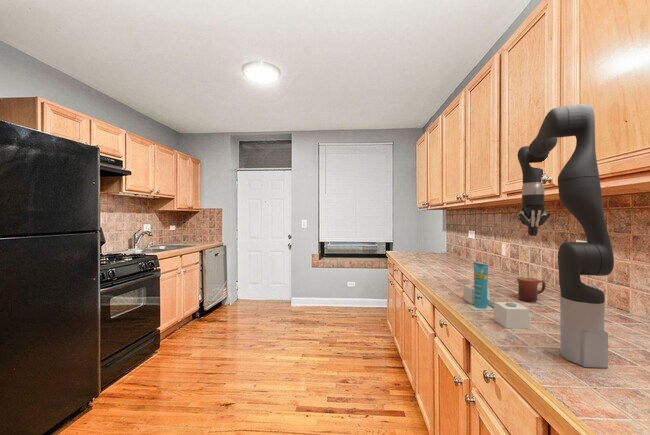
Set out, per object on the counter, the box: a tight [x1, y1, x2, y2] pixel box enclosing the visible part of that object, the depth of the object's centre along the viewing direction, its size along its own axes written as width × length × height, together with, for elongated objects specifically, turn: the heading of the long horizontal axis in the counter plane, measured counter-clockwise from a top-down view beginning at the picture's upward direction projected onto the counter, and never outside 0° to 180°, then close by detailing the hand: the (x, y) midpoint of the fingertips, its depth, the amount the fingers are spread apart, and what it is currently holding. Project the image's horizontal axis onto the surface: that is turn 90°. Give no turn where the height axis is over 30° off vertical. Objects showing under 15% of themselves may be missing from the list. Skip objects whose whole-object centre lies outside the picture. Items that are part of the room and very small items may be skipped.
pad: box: [466, 304, 494, 311], centre depth 123 cm, size 6×9×1 cm, turn 87°
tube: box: [473, 262, 489, 309], centre depth 122 cm, size 7×5×19 cm, turn 24°
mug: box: [516, 276, 546, 303], centre depth 132 cm, size 12×9×10 cm
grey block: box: [463, 284, 491, 305], centre depth 131 cm, size 8×8×7 cm
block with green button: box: [493, 301, 530, 330], centre depth 104 cm, size 8×8×8 cm
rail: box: [487, 298, 497, 309], centre depth 118 cm, size 18×2×2 cm, turn 177°
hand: (532, 235), depth 116 cm, fingers closed
